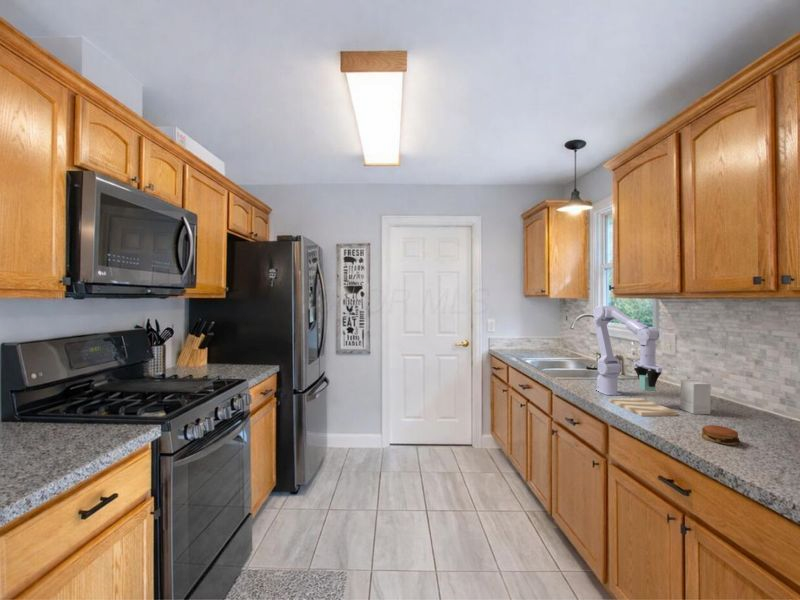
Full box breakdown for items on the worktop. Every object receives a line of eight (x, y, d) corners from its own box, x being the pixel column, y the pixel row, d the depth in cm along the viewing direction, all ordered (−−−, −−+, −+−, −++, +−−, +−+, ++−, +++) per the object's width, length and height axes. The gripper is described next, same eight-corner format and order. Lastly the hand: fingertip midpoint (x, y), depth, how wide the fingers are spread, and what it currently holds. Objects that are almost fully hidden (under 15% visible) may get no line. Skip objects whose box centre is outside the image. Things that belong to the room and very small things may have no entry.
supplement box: (711, 414, 151) (711, 384, 151) (692, 414, 151) (693, 383, 151) (696, 409, 159) (697, 380, 158) (679, 408, 159) (680, 379, 159)
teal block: (639, 388, 166) (639, 375, 166) (649, 388, 166) (649, 375, 166) (644, 390, 162) (644, 377, 161) (655, 391, 161) (655, 377, 161)
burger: (695, 434, 128) (695, 421, 128) (725, 436, 127) (725, 423, 127) (714, 446, 119) (715, 431, 119) (747, 448, 117) (747, 434, 117)
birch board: (609, 401, 168) (609, 398, 168) (642, 401, 169) (642, 398, 169) (641, 416, 148) (641, 412, 148) (678, 415, 149) (678, 411, 149)
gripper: (627, 352, 170) (627, 381, 170) (651, 357, 156) (651, 389, 156) (642, 352, 171) (641, 381, 171) (667, 357, 156) (666, 389, 157)
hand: (647, 385), depth 164 cm, fingers closed on teal block, 5 cm apart
